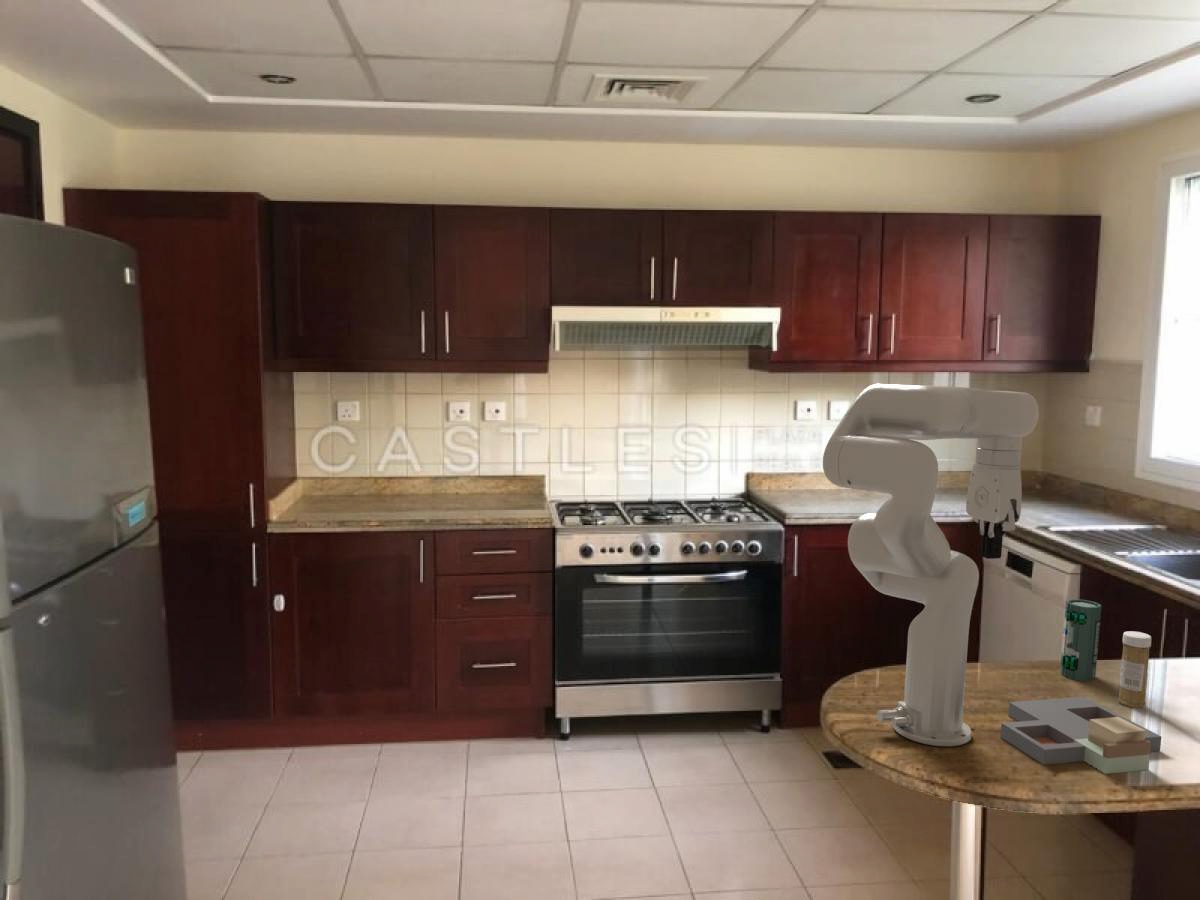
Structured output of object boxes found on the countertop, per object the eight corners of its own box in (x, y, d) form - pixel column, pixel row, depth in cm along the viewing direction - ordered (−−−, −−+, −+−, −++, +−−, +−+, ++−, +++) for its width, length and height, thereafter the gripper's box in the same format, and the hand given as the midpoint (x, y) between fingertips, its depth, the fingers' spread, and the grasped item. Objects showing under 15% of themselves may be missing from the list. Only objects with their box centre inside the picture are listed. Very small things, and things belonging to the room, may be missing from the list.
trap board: (1063, 777, 141) (1065, 749, 141) (971, 718, 163) (973, 694, 163) (1188, 765, 146) (1190, 738, 146) (1082, 709, 169) (1084, 686, 168)
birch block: (1114, 754, 144) (1116, 733, 144) (1088, 740, 149) (1089, 719, 149) (1143, 751, 145) (1145, 730, 145) (1116, 737, 151) (1118, 716, 150)
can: (1058, 668, 191) (1064, 598, 189) (1091, 672, 189) (1097, 601, 187) (1063, 678, 185) (1069, 605, 183) (1097, 682, 183) (1103, 609, 181)
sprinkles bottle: (1150, 705, 172) (1156, 635, 170) (1137, 710, 169) (1144, 639, 168) (1124, 697, 175) (1131, 628, 174) (1112, 702, 173) (1118, 632, 171)
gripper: (955, 454, 174) (948, 549, 176) (1006, 464, 160) (999, 567, 162) (990, 453, 176) (983, 548, 178) (1044, 463, 161) (1036, 566, 163)
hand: (990, 557), depth 170 cm, fingers closed
